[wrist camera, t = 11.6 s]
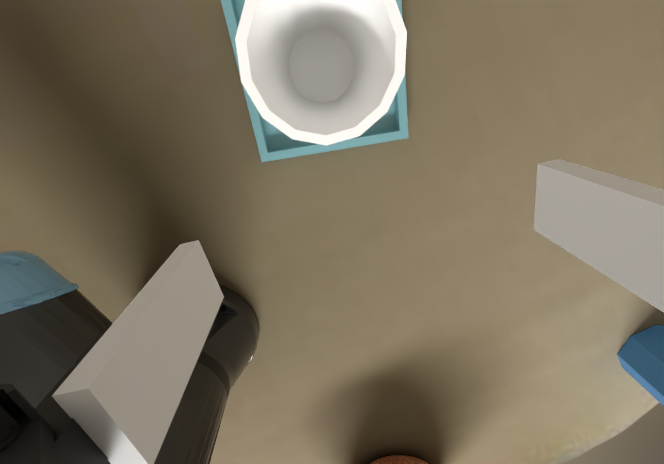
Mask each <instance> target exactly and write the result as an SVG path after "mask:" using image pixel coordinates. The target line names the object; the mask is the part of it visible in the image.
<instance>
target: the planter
mask: <svg viewBox="0 0 664 464" xmlns="http://www.w3.org/2000/svg"><path fill="white" fill-rule="evenodd" d="M369 464H429V463H427V462H425V461H423V460H421V459H419V458H416V457H412V456H407V455H392V456H386V457H382V458H379V459H377V460H375V461H373V462H371V463H369Z"/></svg>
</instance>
